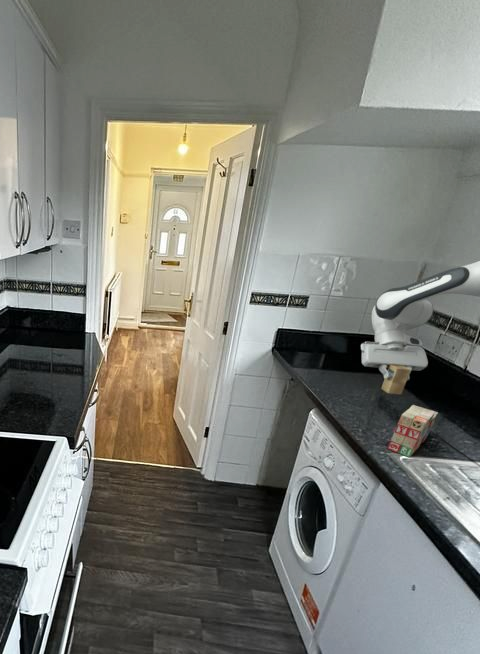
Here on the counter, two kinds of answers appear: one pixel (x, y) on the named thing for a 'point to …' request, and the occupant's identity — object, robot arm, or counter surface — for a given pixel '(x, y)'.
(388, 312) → the robot arm
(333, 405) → the counter surface
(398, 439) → the stack of blocks
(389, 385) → the birch block
